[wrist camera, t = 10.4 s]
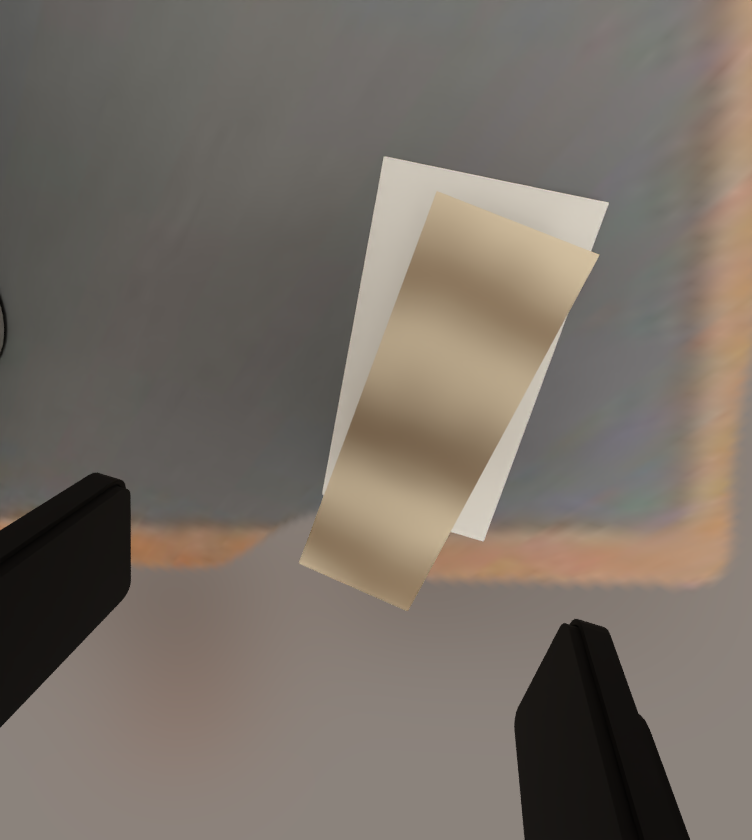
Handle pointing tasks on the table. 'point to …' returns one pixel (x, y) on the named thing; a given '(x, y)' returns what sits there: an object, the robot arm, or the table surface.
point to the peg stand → (385, 271)
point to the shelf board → (441, 393)
